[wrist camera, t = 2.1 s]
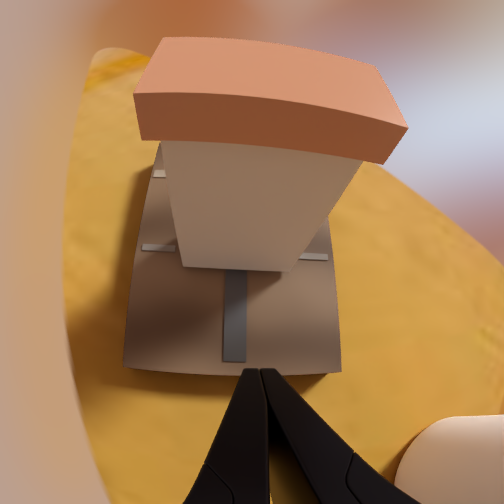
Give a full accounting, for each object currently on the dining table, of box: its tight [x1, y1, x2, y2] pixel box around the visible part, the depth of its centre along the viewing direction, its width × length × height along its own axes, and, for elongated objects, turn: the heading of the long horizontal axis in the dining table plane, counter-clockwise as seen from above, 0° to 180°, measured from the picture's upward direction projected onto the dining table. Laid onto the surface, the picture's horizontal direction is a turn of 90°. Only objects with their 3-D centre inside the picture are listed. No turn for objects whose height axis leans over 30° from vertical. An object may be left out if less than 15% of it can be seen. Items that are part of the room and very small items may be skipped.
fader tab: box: [133, 37, 408, 272], centre depth 12 cm, size 3×7×12 cm, turn 90°
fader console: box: [123, 143, 342, 376], centre depth 19 cm, size 16×12×2 cm
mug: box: [394, 415, 504, 504], centre depth 9 cm, size 9×12×11 cm
